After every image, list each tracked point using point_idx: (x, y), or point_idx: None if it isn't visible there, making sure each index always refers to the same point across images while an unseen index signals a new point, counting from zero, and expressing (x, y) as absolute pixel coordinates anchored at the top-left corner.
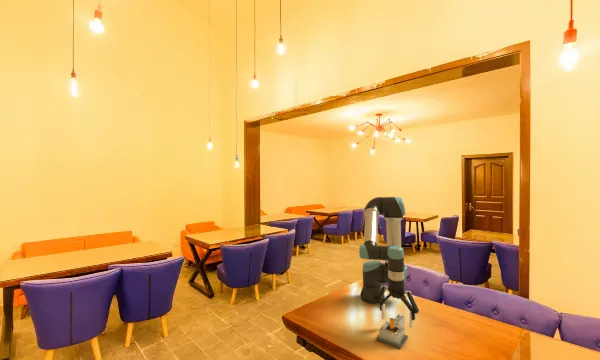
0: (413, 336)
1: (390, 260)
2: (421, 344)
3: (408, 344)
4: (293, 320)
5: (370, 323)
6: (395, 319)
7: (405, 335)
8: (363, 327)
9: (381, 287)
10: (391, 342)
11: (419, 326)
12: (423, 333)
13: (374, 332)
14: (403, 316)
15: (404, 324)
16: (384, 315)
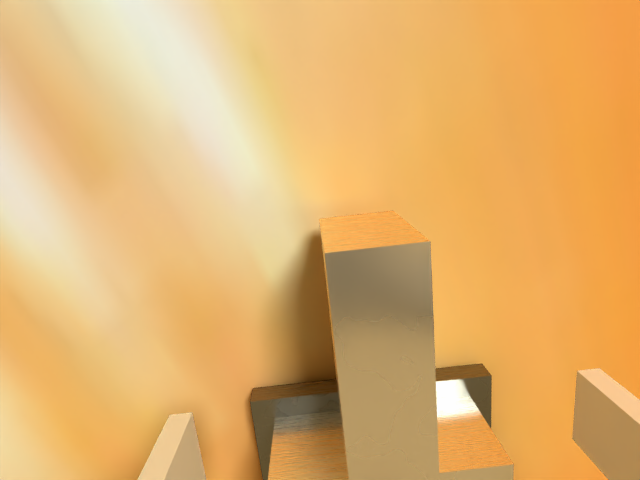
0: (514, 297)
1: None
2: (608, 370)
3: (512, 440)
4: None
5: (59, 365)
6: (364, 437)
7: (470, 386)
8: (64, 470)
9: None
10: None
11: (516, 38)
12: (589, 170)
13: None
14: (426, 272)
15: (397, 216)
16: (187, 468)
